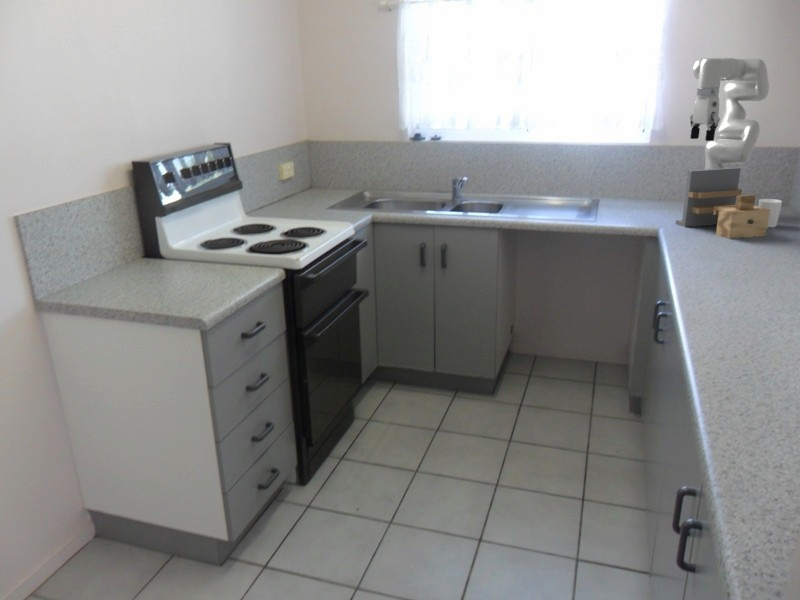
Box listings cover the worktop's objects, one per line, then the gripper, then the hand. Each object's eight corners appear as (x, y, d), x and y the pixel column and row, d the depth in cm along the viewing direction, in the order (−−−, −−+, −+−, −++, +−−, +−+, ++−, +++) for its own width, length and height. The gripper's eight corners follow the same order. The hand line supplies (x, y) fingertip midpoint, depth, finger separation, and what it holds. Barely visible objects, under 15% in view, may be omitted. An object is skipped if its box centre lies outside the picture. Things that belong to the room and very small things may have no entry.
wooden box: (708, 232, 253) (713, 193, 248) (744, 229, 256) (750, 190, 251) (730, 239, 241) (736, 199, 236) (767, 236, 245) (774, 196, 240)
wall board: (675, 223, 267) (681, 169, 260) (722, 220, 271) (730, 166, 264) (691, 229, 257) (698, 172, 250) (740, 225, 262) (748, 169, 255)
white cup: (755, 227, 259) (759, 201, 256) (755, 222, 265) (759, 198, 262) (777, 228, 255) (782, 203, 252) (777, 224, 262) (781, 199, 259)
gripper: (731, 93, 241) (724, 141, 246) (703, 92, 257) (697, 137, 262) (712, 93, 240) (706, 141, 245) (685, 93, 256) (680, 138, 261)
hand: (701, 139), depth 254 cm, fingers open, 9 cm apart
